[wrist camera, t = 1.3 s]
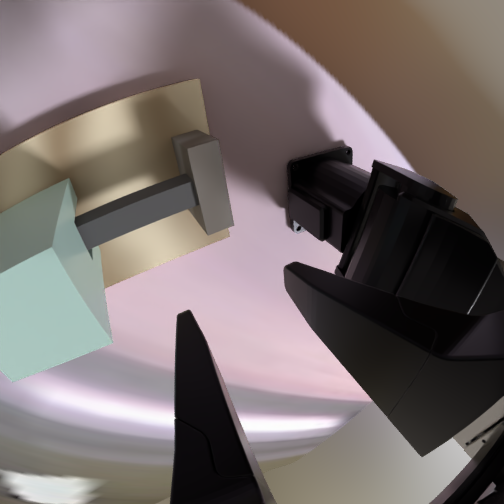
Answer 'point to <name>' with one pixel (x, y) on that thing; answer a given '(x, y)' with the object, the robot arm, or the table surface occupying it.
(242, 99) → the table surface
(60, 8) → the table surface
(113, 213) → the long grey square rod
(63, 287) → the pale teal block
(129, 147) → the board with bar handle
